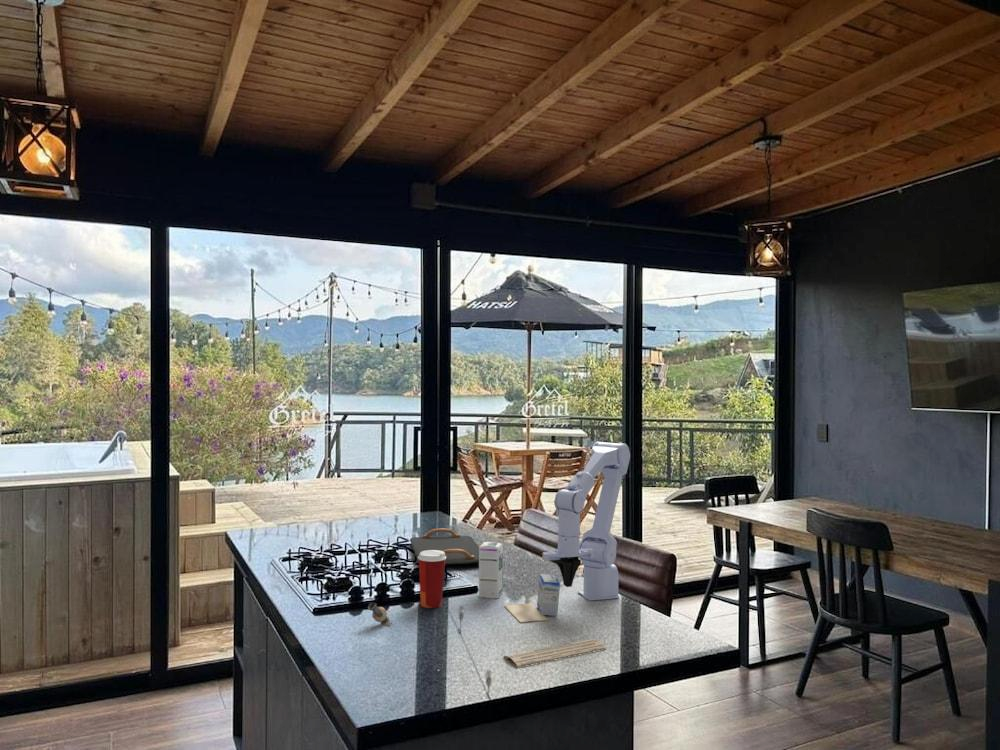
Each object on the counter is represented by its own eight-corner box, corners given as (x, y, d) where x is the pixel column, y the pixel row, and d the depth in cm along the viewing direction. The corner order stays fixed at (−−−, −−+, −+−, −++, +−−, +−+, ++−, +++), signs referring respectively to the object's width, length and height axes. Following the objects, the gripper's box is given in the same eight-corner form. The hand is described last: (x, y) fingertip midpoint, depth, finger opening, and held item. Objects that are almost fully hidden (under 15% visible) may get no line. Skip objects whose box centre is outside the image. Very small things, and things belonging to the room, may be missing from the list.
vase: (371, 631, 171) (371, 605, 171) (364, 625, 176) (364, 601, 176) (393, 627, 174) (392, 602, 174) (385, 622, 178) (384, 597, 179)
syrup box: (498, 599, 197) (499, 547, 197) (477, 597, 198) (478, 545, 198) (502, 593, 203) (503, 542, 203) (482, 591, 204) (483, 541, 204)
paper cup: (450, 602, 193) (451, 551, 193) (436, 611, 186) (437, 557, 186) (425, 598, 196) (426, 548, 196) (411, 606, 189) (412, 554, 189)
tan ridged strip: (517, 671, 151) (517, 663, 151) (501, 659, 157) (501, 651, 157) (606, 652, 162) (606, 645, 162) (588, 642, 169) (588, 634, 169)
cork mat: (530, 604, 193) (530, 603, 193) (548, 620, 181) (548, 619, 181) (504, 606, 191) (504, 605, 191) (520, 623, 178) (520, 621, 178)
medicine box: (536, 605, 191) (539, 573, 192) (553, 606, 192) (555, 574, 192) (540, 615, 184) (543, 581, 184) (557, 616, 184) (560, 582, 184)
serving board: (490, 570, 228) (490, 550, 228) (418, 573, 223) (418, 553, 223) (469, 542, 266) (470, 525, 266) (408, 543, 261) (408, 527, 261)
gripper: (584, 529, 196) (583, 579, 196) (537, 533, 190) (536, 584, 190) (598, 535, 189) (597, 586, 189) (549, 539, 184) (548, 591, 184)
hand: (567, 585), depth 189 cm, fingers closed
